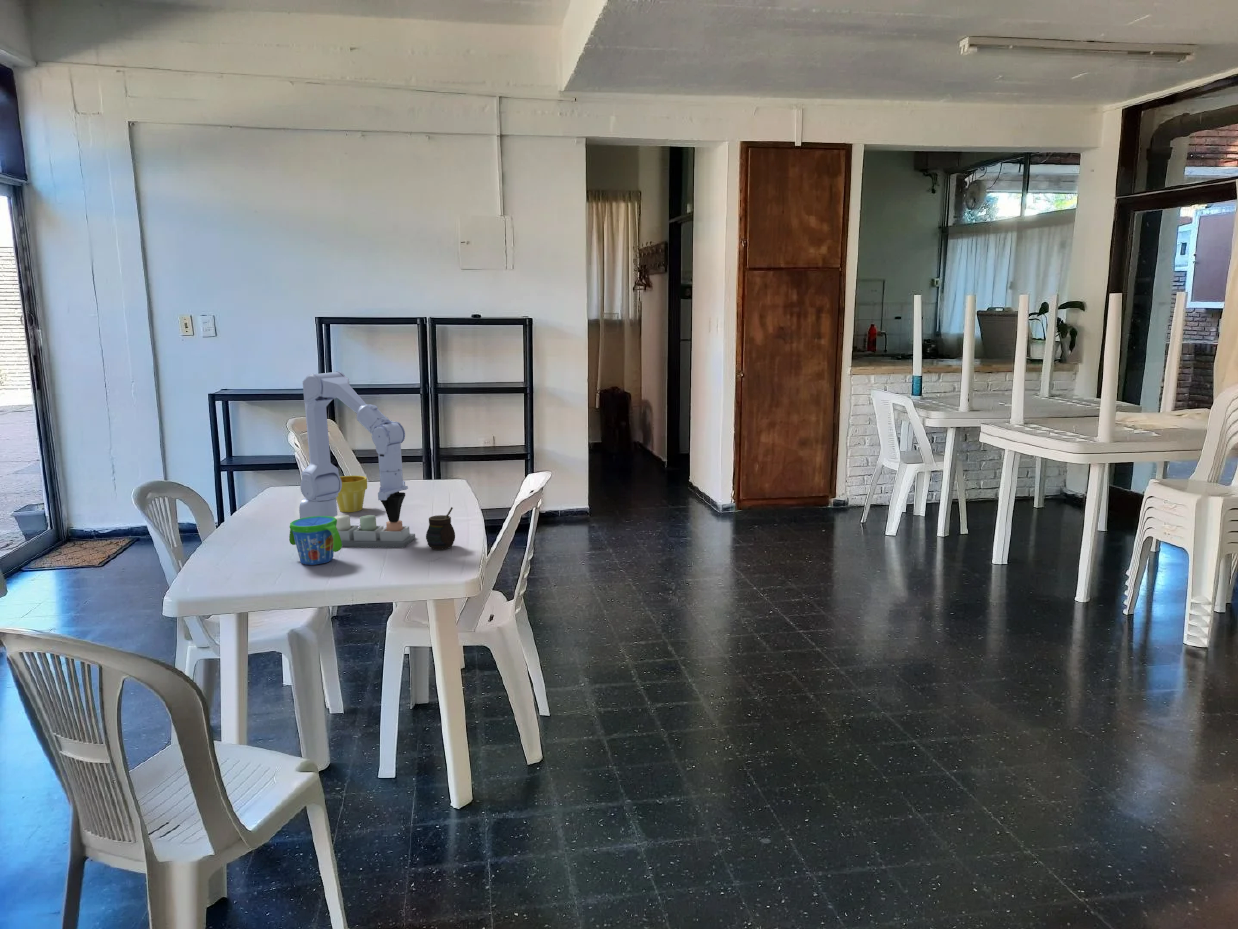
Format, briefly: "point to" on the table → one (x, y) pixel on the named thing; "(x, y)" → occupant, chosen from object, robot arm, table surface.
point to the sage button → (368, 523)
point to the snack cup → (315, 539)
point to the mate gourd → (440, 532)
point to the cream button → (343, 522)
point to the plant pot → (352, 493)
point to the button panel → (376, 537)
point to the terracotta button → (394, 526)
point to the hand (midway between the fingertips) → (394, 521)
